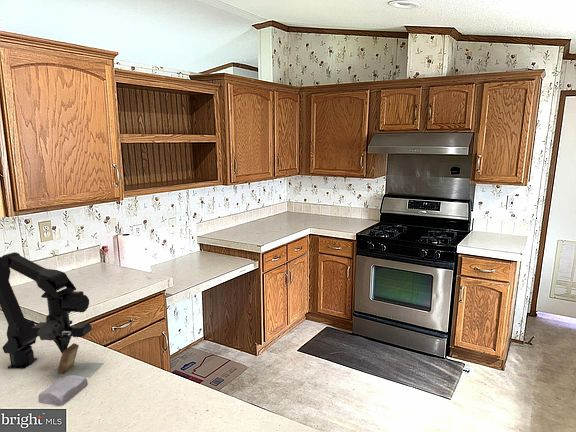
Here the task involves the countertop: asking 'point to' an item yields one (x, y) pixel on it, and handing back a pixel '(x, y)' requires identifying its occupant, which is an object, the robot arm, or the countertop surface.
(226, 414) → the countertop surface
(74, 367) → the rubber mat
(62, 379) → the stone block
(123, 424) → the countertop surface
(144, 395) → the countertop surface
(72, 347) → the walnut tile
